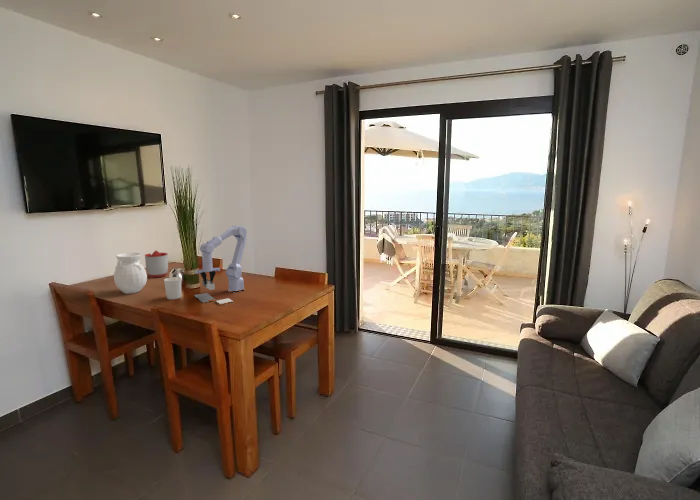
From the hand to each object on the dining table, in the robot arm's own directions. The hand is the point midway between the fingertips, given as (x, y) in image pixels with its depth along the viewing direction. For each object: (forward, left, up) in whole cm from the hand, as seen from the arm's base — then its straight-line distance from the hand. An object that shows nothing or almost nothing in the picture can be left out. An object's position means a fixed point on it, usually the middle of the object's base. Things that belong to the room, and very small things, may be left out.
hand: (208, 283), depth 228 cm
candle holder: (+18, -13, -10) cm, 24 cm away
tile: (-4, +12, -9) cm, 15 cm away
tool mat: (+3, 0, -9) cm, 10 cm away
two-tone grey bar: (0, 0, -2) cm, 2 cm away
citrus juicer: (+15, -77, -10) cm, 79 cm away
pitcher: (+37, -42, -10) cm, 57 cm away
